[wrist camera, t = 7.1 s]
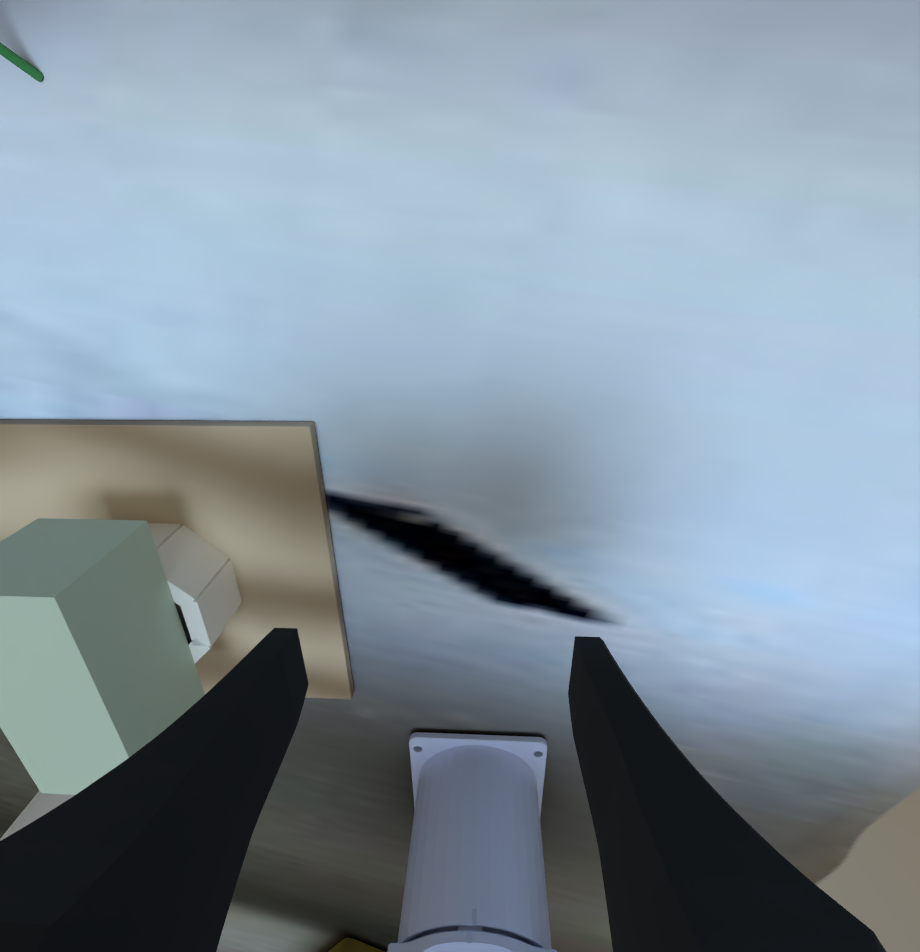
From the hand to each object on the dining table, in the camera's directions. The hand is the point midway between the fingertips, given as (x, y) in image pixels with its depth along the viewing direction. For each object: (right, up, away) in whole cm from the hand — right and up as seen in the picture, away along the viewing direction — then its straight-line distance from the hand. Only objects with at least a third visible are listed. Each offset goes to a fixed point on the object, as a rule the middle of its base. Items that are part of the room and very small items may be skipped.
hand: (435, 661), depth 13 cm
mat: (-13, 0, +12) cm, 18 cm away
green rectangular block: (-14, -1, +8) cm, 16 cm away
